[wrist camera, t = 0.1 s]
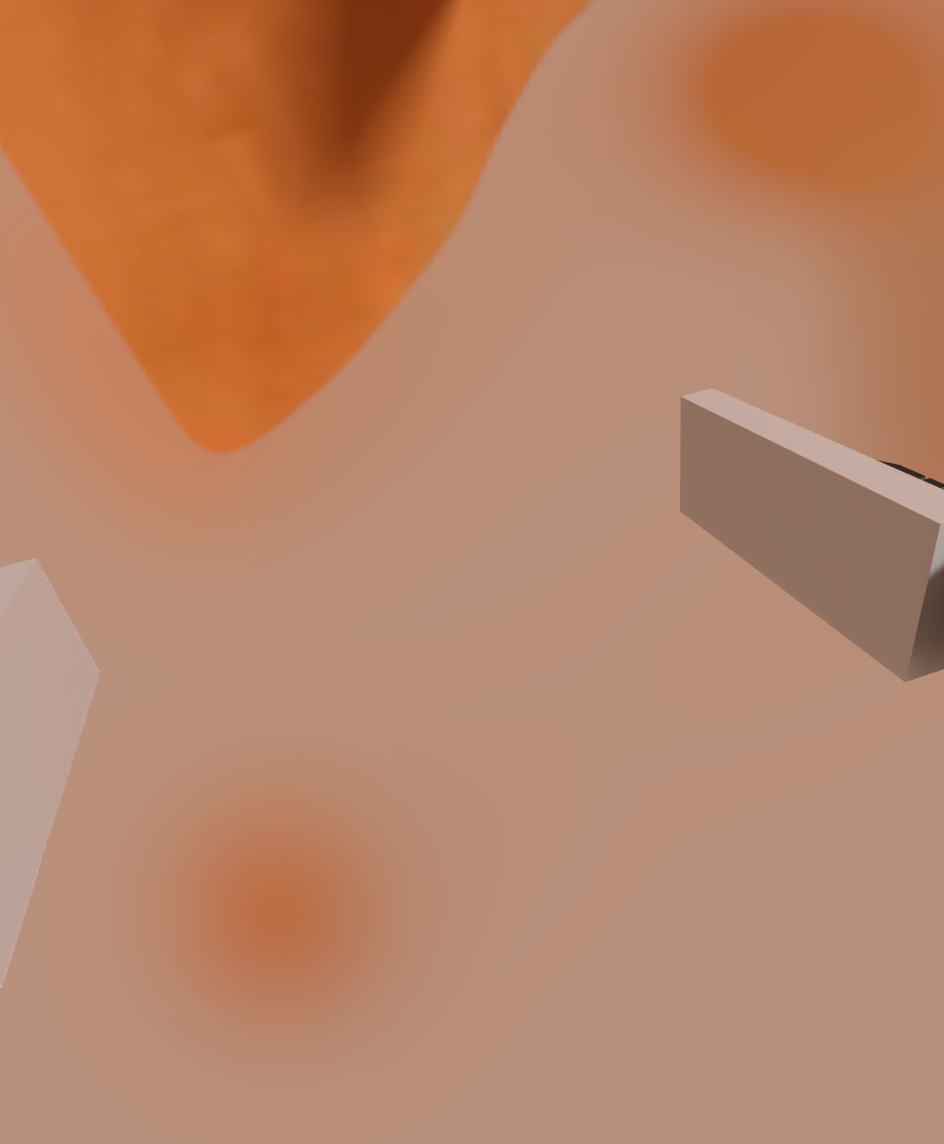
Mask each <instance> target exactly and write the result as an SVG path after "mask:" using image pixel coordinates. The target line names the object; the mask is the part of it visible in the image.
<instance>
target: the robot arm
mask: <svg viewBox="0 0 944 1144" xmlns="http://www.w3.org/2000/svg"><path fill="white" fill-rule="evenodd" d="M680 485H681V486H680V487H681V488H680V489H681V490H680V503H681V504H680V505H681V506H680V511H681V512H682V513H683V514H685V515H686V516H687V517H689V518H690V519H691V520H693V521H694V522H695V523H696V524H698V525H699V526H700V527H702V528H703V529H704V530H706V531H707V532H708V533H710V534H711V535H712V536H714V537H715V538H716V539H718V540H719V541H720V542H721V543H723V544H724V545H726V546H727V547H728V548H729V549H731V550H732V551H733V552H735V553H736V554H737V555H739V556H740V557H741V558H743V559H744V560H745V561H747V562H748V563H749V564H750V565H752V566H753V567H754V568H756V569H757V570H758V571H760V572H761V573H763V574H764V575H765V576H766V577H768V578H769V579H770V580H772V581H773V582H774V583H776V584H777V585H778V586H779V587H781V588H782V589H784V590H785V591H786V592H787V593H789V594H790V595H791V596H793V597H794V598H795V599H797V600H798V601H799V602H801V603H802V604H803V605H804V606H806V607H807V608H808V609H810V610H811V611H812V612H814V613H815V614H816V615H818V616H819V617H820V618H822V619H823V620H824V621H826V622H827V623H828V624H829V625H831V626H832V627H833V628H835V629H836V630H837V631H839V632H840V633H841V634H843V635H844V636H846V637H847V638H848V639H849V640H851V641H852V642H853V643H855V644H856V645H857V646H858V647H860V648H861V649H863V650H864V651H865V652H866V653H868V654H869V655H871V656H872V657H873V658H874V659H876V660H877V661H878V662H880V663H881V664H882V665H883V666H885V667H886V668H888V669H889V670H890V671H891V672H893V673H894V674H895V675H897V676H898V677H899V678H901V679H902V680H903V681H905V682H907V681H910V680H913V679H916V678H919V677H921V676H924V675H927V674H930V673H933V672H936V671H939V670H942V669H944V484H942V483H940V482H938V481H935V480H933V479H931V478H929V479H926V478H925V476H924V475H922V474H919V473H917V472H914V471H912V470H910V469H907V468H905V467H903V466H901V465H897V464H892V463H887V462H883V461H879V460H875V459H872V458H870V457H868V456H865V455H863V454H861V453H859V452H856V451H854V450H852V449H850V448H847V447H845V446H843V445H841V444H838V443H836V442H834V441H831V440H829V439H827V438H825V437H822V436H820V435H818V434H815V433H813V432H811V431H809V430H806V429H804V428H802V427H800V426H797V425H795V424H792V423H790V422H788V421H786V420H784V419H781V418H779V417H777V416H774V415H772V414H770V413H768V412H765V411H763V410H761V409H759V408H756V407H754V406H752V405H749V404H747V403H745V402H743V401H740V400H738V399H736V398H733V397H731V396H729V395H726V394H724V393H722V392H720V391H718V390H715V389H709V390H705V391H701V392H698V393H693V394H689V395H685V396H682V397H681V480H680ZM99 675H100V672H99V670H98V668H97V666H96V665H95V663H94V661H93V659H92V658H91V656H90V654H89V652H88V650H87V649H86V647H85V645H84V643H83V641H82V640H81V638H80V636H79V634H78V633H77V631H76V629H75V627H74V625H73V623H72V622H71V620H70V618H69V616H68V615H67V613H66V611H65V609H64V607H63V606H62V604H61V602H60V600H59V599H58V597H57V595H56V593H55V591H54V590H53V588H52V586H51V584H50V582H49V581H48V579H47V577H46V575H45V573H44V572H43V570H42V568H41V566H40V564H39V563H38V561H37V559H36V558H35V559H31V560H28V561H23V562H20V563H15V564H11V565H8V566H3V567H0V989H1V988H2V986H3V983H4V980H5V976H6V974H7V970H8V967H9V964H10V961H11V958H12V954H13V951H14V948H15V945H16V941H17V938H18V935H19V932H20V929H21V925H22V922H23V919H24V916H25V912H26V909H27V906H28V903H29V900H30V897H31V893H32V890H33V887H34V884H35V880H36V877H37V874H38V871H39V867H40V865H41V861H42V858H43V855H44V852H45V849H46V845H47V842H48V839H49V836H50V833H51V829H52V826H53V822H54V820H55V816H56V813H57V810H58V807H59V804H60V800H61V797H62V794H63V791H64V788H65V784H66V781H67V778H68V775H69V772H70V768H71V765H72V762H73V759H74V755H75V752H76V749H77V745H78V743H79V740H80V736H81V733H82V730H83V726H84V723H85V720H86V717H87V714H88V711H89V707H90V704H91V701H92V698H93V695H94V691H95V688H96V685H97V682H98V678H99Z"/></svg>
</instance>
